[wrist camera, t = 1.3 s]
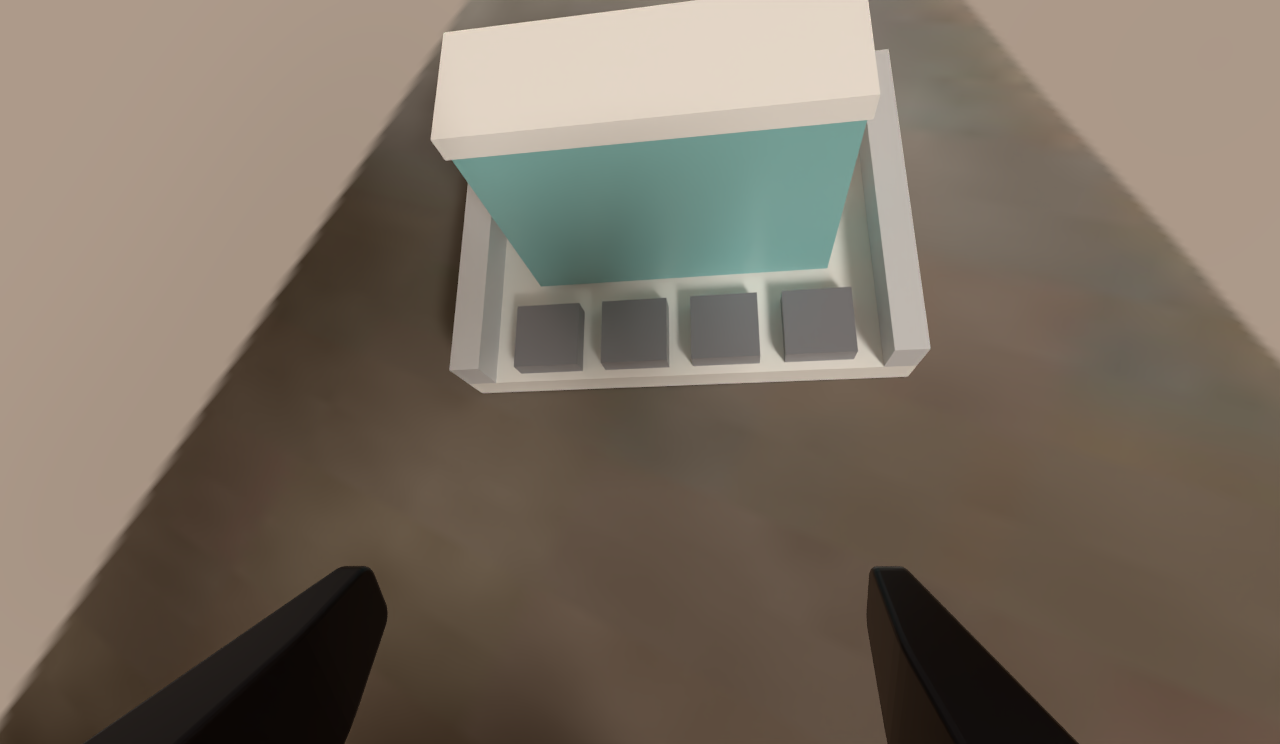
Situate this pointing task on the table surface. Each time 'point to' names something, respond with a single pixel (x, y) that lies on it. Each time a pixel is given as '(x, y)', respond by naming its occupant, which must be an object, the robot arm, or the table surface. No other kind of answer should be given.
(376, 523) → the table surface
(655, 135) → the teal and cream panel
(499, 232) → the white slotted tray
